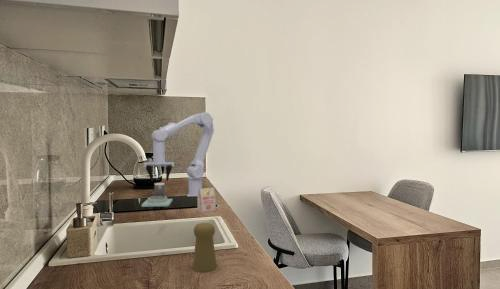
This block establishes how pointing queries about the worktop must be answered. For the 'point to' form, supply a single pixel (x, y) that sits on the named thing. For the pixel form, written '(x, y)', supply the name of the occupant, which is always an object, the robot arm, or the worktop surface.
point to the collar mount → (157, 199)
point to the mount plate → (157, 203)
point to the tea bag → (206, 200)
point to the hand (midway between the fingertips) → (159, 180)
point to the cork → (204, 248)
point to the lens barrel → (159, 189)
